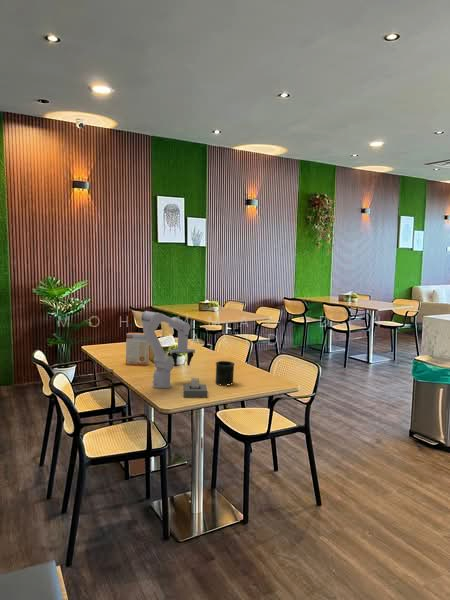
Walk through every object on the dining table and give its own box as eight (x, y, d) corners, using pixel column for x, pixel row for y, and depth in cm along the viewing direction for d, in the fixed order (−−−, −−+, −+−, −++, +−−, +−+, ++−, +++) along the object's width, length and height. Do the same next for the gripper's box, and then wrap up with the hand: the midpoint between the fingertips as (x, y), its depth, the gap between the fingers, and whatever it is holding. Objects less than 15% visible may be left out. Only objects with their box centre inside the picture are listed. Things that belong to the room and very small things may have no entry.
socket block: (183, 397, 231) (183, 390, 231) (183, 390, 243) (183, 384, 243) (206, 397, 232) (207, 390, 232) (205, 390, 244) (205, 384, 244)
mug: (220, 387, 252) (221, 366, 251) (208, 380, 265) (209, 360, 264) (237, 385, 258) (238, 364, 257) (224, 378, 270) (225, 359, 269)
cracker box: (148, 364, 300) (149, 333, 298) (146, 366, 294) (147, 334, 292) (128, 362, 301) (128, 332, 299) (125, 364, 295) (126, 333, 293)
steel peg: (191, 395, 236) (191, 380, 235) (190, 392, 240) (191, 378, 239) (198, 395, 236) (199, 380, 236) (198, 392, 240) (198, 378, 239)
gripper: (172, 344, 252) (171, 367, 254) (196, 343, 258) (196, 366, 259) (169, 341, 259) (168, 364, 260) (193, 341, 264) (192, 363, 265)
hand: (181, 365), depth 260 cm, fingers open, 7 cm apart
